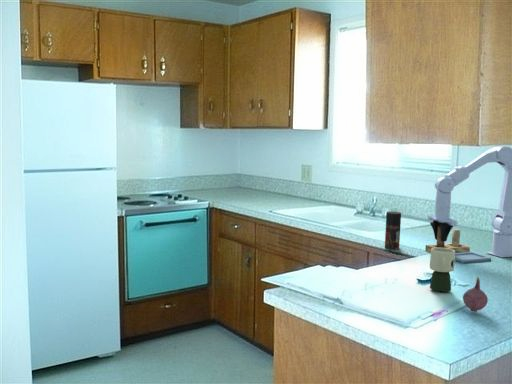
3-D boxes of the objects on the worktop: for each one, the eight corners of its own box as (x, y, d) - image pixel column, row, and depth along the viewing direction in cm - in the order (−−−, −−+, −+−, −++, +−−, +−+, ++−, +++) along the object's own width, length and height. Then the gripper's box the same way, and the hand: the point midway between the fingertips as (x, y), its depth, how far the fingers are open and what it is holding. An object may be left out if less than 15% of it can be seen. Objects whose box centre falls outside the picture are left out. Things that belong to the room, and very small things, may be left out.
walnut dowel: (440, 247, 220) (441, 226, 219) (445, 249, 217) (447, 227, 216) (434, 248, 219) (436, 226, 218) (439, 249, 216) (441, 227, 215)
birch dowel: (455, 250, 223) (456, 229, 222) (460, 251, 221) (461, 230, 220) (449, 250, 222) (451, 229, 221) (454, 252, 220) (456, 230, 218)
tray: (471, 254, 216) (471, 251, 216) (490, 260, 207) (491, 257, 207) (444, 257, 210) (444, 254, 210) (462, 263, 201) (463, 260, 201)
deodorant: (388, 245, 229) (390, 211, 227) (401, 247, 225) (403, 212, 224) (382, 247, 225) (384, 212, 223) (395, 250, 221) (397, 214, 219)
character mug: (454, 297, 160) (457, 254, 158) (429, 294, 161) (432, 252, 160) (450, 286, 170) (452, 246, 169) (426, 284, 172) (429, 245, 170)
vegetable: (490, 316, 144) (493, 280, 142) (468, 316, 143) (471, 280, 142) (479, 308, 150) (482, 274, 149) (458, 308, 149) (461, 274, 148)
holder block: (455, 248, 227) (455, 242, 226) (469, 252, 219) (470, 246, 219) (425, 250, 221) (425, 245, 220) (438, 255, 213) (439, 249, 213)
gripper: (422, 205, 221) (420, 237, 223) (447, 210, 208) (445, 244, 210) (436, 204, 224) (434, 236, 226) (461, 209, 211) (459, 243, 212)
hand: (440, 240), depth 218 cm, fingers closed on walnut dowel, 3 cm apart
